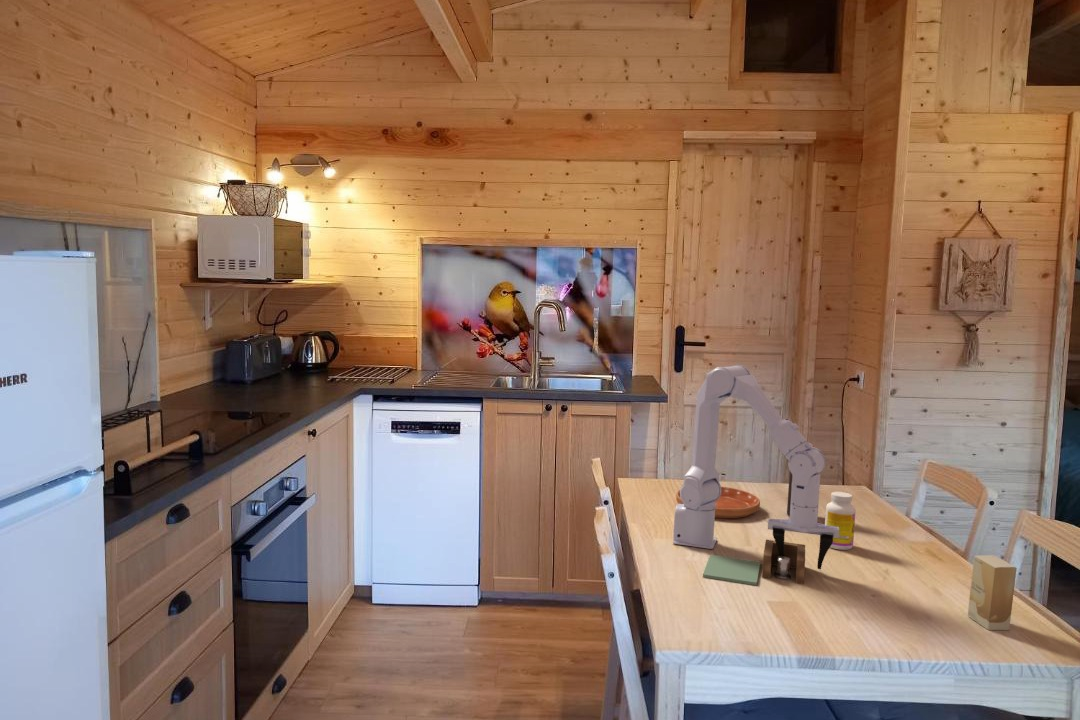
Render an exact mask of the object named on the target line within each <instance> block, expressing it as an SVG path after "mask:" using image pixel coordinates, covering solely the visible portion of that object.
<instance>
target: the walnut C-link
mask: <svg viewBox="0 0 1080 720" xmlns="http://www.w3.org/2000/svg"><path fill="white" fill-rule="evenodd" d="M779 556H780V555H779V551H778V547H777V544H776V542H775V540H771V539H765V544H764V550H763V556H762V571H761V573H762V574H761V579H768V580H770V579H771V572H772V565H775V566H777V562H778V557H779ZM784 556H785V557H788V558H790V559H791V560H790V568H794V569H795V584H799V585H800V584H802V585H805V569H806V544H803V543H794V542H789V541H788V542H787V541H784Z"/></svg>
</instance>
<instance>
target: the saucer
mask: <svg viewBox="0 0 1080 720" xmlns="http://www.w3.org/2000/svg"><path fill="white" fill-rule="evenodd" d="M675 499H676V503H677V504H683V502H682V500H681V498H680V489H679V490H678V491H677V492H676V496H675ZM760 505H761V501H760V498H759V497H758V496H756V495H755V494H753V493H751V492H749V491H745V490H742V489H738V488H733V487H729V486H728V487H727V486H721V495H720V497H719V499H718V500H716V505H715V518H716V519H738V518H739V519H740V518H744V517H748V516H749V515H752V514H754V513H756V512H757V511H759V510H760Z"/></svg>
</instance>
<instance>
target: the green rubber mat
mask: <svg viewBox="0 0 1080 720" xmlns="http://www.w3.org/2000/svg"><path fill="white" fill-rule="evenodd" d="M760 569H761V561H757V560H752V559H750V560H749V559H744V558H737V557H730V556H722V555H715V554H710V555H709V558H708V560H707V563H706V565H705V567H704V570H703V574H702V578H707V579H713V580H720V581H727V582H732V583H740V584H744V585H751V586H757V584H758V579H759V575H760Z"/></svg>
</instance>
